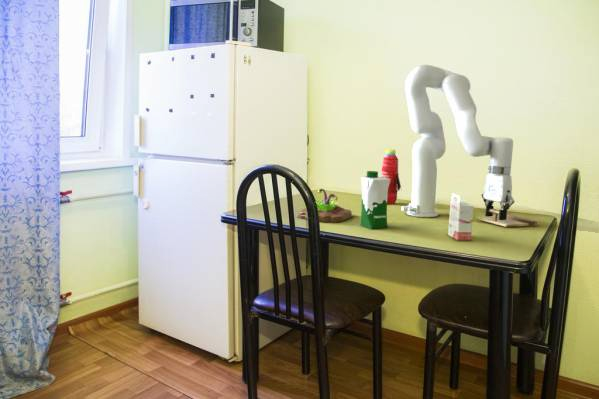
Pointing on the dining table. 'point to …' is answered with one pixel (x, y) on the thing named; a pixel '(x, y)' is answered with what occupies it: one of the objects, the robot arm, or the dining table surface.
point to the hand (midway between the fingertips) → (495, 217)
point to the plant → (329, 210)
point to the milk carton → (374, 200)
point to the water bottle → (391, 175)
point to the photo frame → (502, 222)
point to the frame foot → (522, 220)
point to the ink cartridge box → (460, 219)
